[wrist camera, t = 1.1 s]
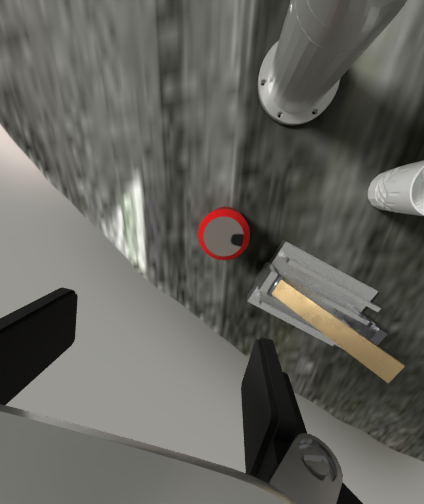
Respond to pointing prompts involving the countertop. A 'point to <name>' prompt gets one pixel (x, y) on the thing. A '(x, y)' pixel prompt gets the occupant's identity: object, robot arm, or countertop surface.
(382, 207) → the white cup
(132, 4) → the countertop surface
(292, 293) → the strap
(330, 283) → the heatsink
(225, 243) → the soda can
